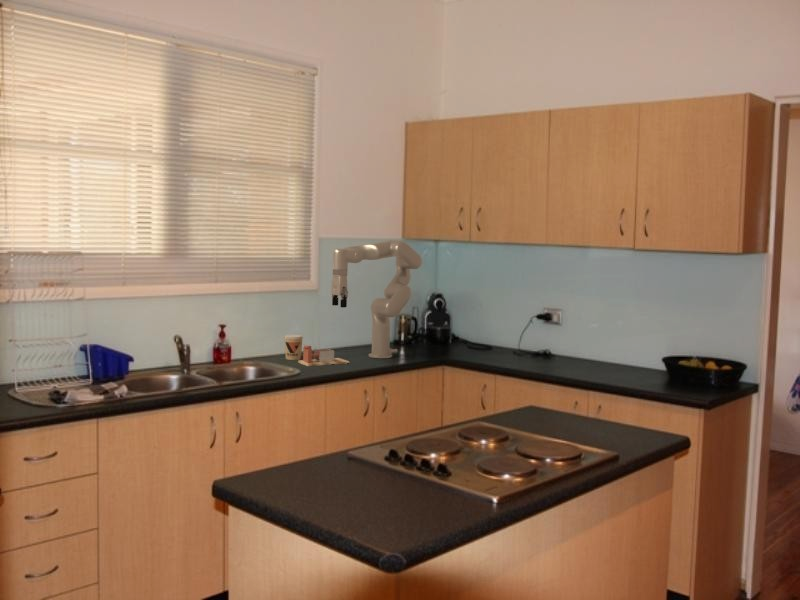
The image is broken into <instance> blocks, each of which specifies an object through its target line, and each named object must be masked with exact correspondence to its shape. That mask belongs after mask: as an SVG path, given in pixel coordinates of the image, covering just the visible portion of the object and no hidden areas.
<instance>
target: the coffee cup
mask: <svg viewBox="0 0 800 600" xmlns="http://www.w3.org/2000/svg"><path fill="white" fill-rule="evenodd" d="M303 339H304V337H303V335H301V334H286V335H285V336H284V347H285V348H284V349H285V350H284V351H285V360H289V361H298V360H302V352H303V351H302V349H303V348H302V347H303Z"/></svg>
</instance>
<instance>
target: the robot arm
mask: <svg viewBox="0 0 800 600" xmlns="http://www.w3.org/2000/svg"><path fill="white" fill-rule="evenodd" d="M392 257H394V258H395V266H396V271H395V272H396V273H395V275H394V276H393V278H392V279H391V280H390V282H389V283H388V284H387V286H386V287H385V288H384V291H383V294H384V297H377V298H375V299H373V300H372V302H371V304H370V305H371V306H370V310H371V317H372V318H371V319H372V321H371V323H372V326H371V327H372V328H371V331H372V332H371V353H368V357H369V358H373V359H390V358H393V354H396V353H398V349H397V348H391V347H390V345H391V344H390V342H391V341H390V340H391V339H390V337H391V322H390V318H395V317H397V316H398V315H399V314H400V313H401V312H402V310H403V309H404V307H405V306H406V305H407V304H408V302H409V301H410V299H411V296H412V290H411V288H410V286H409V283H410V281H411V270H417V269H419V268H420V267H421V266H422V263H423V259H422V257H421V255H420V254H419V253H418V252H417V251H416V250H415V249H413V247H411V246H410V245H409V244H408V243H406V242H405V241H402V240H388V241H382V242H375V243H369V244H362V245H355V246H354V245H353V246H348V247H344V248H334V249H333V253H332V276H331V277H332V278H331V286H330V293H331V297H332V298H331V301H332V302H331V305H332V306H339V307H340V308H347V306H348V295H349V290H348V264H349V263H350V264H358V263H361V262H362V261H363V260H364V261H367V260H368V261H373V260H374V261H375V260H382V259H387V258H392ZM339 296H340V305H339Z"/></svg>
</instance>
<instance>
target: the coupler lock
mask: <svg viewBox="0 0 800 600" xmlns="http://www.w3.org/2000/svg"><path fill="white" fill-rule="evenodd" d="M313 351H314V353H313V354H315V353H319V356H318V357H313V359H314V360H315V361H317V362H334V358H335V350H333V349H330V348H323V349H314V350H313Z"/></svg>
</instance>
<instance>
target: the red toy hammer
mask: <svg viewBox="0 0 800 600" xmlns="http://www.w3.org/2000/svg"><path fill="white" fill-rule="evenodd" d="M302 347H303V348H302V349H303V351H302V353H303V357H302V360H303V361H304V362H306V363H312V360H313V358H314V357H318V356H319V353H315V354H314V353H313V349H312V346H311V345H304V346H302Z"/></svg>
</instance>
